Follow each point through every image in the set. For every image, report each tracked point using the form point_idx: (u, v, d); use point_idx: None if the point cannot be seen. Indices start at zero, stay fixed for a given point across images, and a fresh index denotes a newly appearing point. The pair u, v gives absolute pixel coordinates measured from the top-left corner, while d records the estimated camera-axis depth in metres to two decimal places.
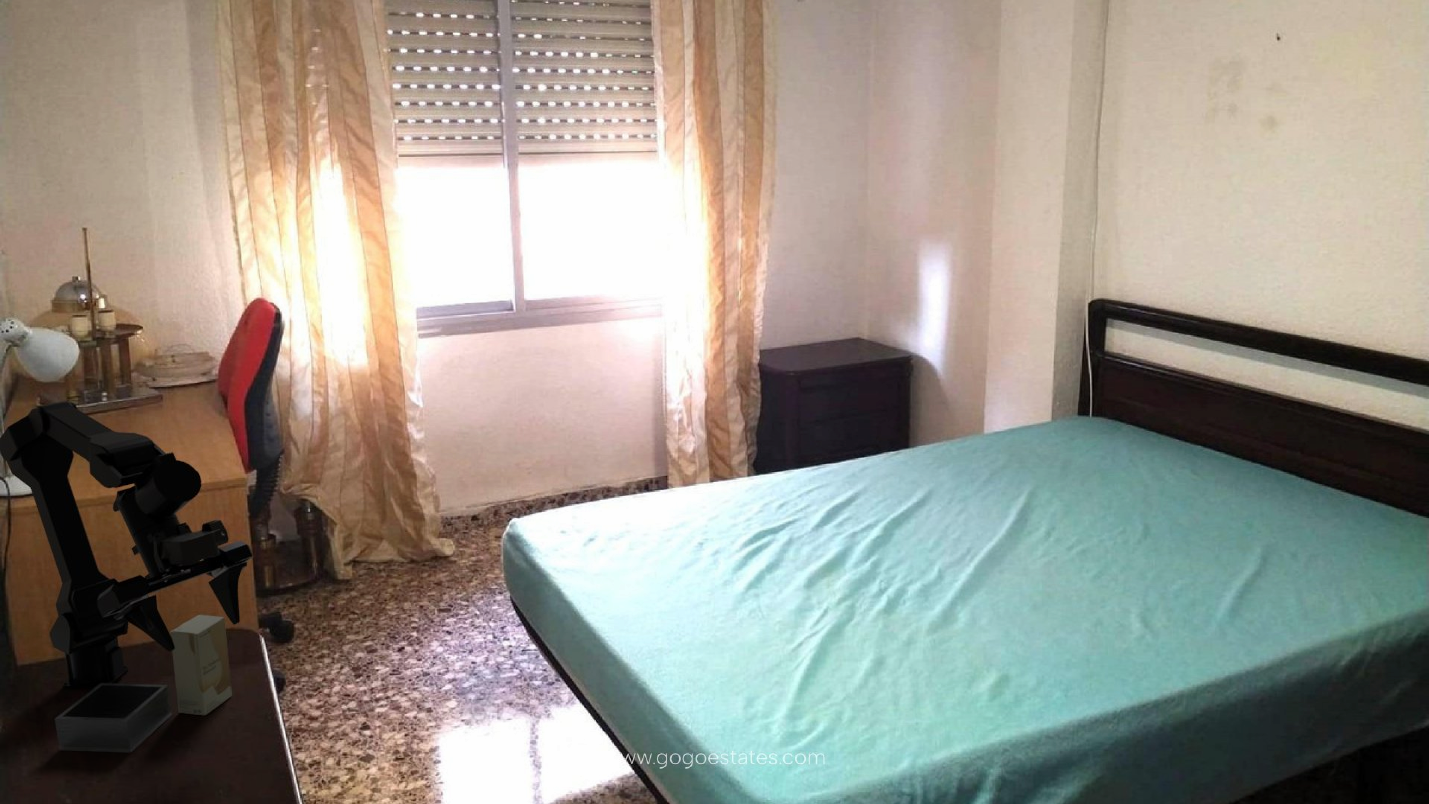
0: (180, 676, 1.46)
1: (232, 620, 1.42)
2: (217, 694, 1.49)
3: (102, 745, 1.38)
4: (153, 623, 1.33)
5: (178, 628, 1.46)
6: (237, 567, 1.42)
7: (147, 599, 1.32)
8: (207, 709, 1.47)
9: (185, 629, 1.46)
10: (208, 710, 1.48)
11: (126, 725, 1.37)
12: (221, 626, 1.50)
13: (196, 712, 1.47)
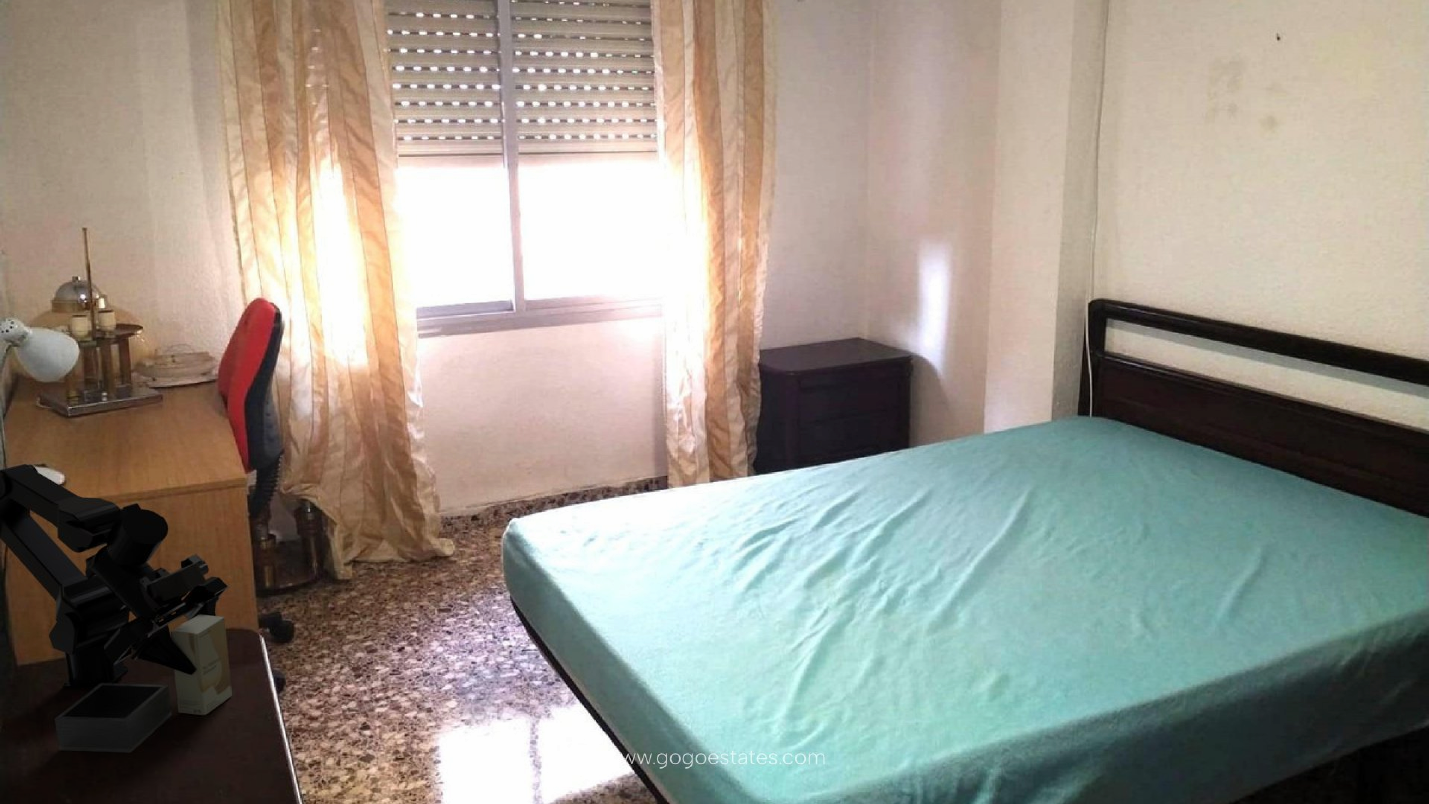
0: (180, 676, 1.46)
1: None
2: (217, 694, 1.49)
3: (102, 745, 1.38)
4: (171, 651, 1.44)
5: (178, 628, 1.46)
6: (212, 601, 1.52)
7: (162, 629, 1.43)
8: (207, 709, 1.47)
9: (185, 629, 1.46)
10: (208, 710, 1.47)
11: (126, 725, 1.37)
12: (221, 625, 1.50)
13: (196, 712, 1.47)
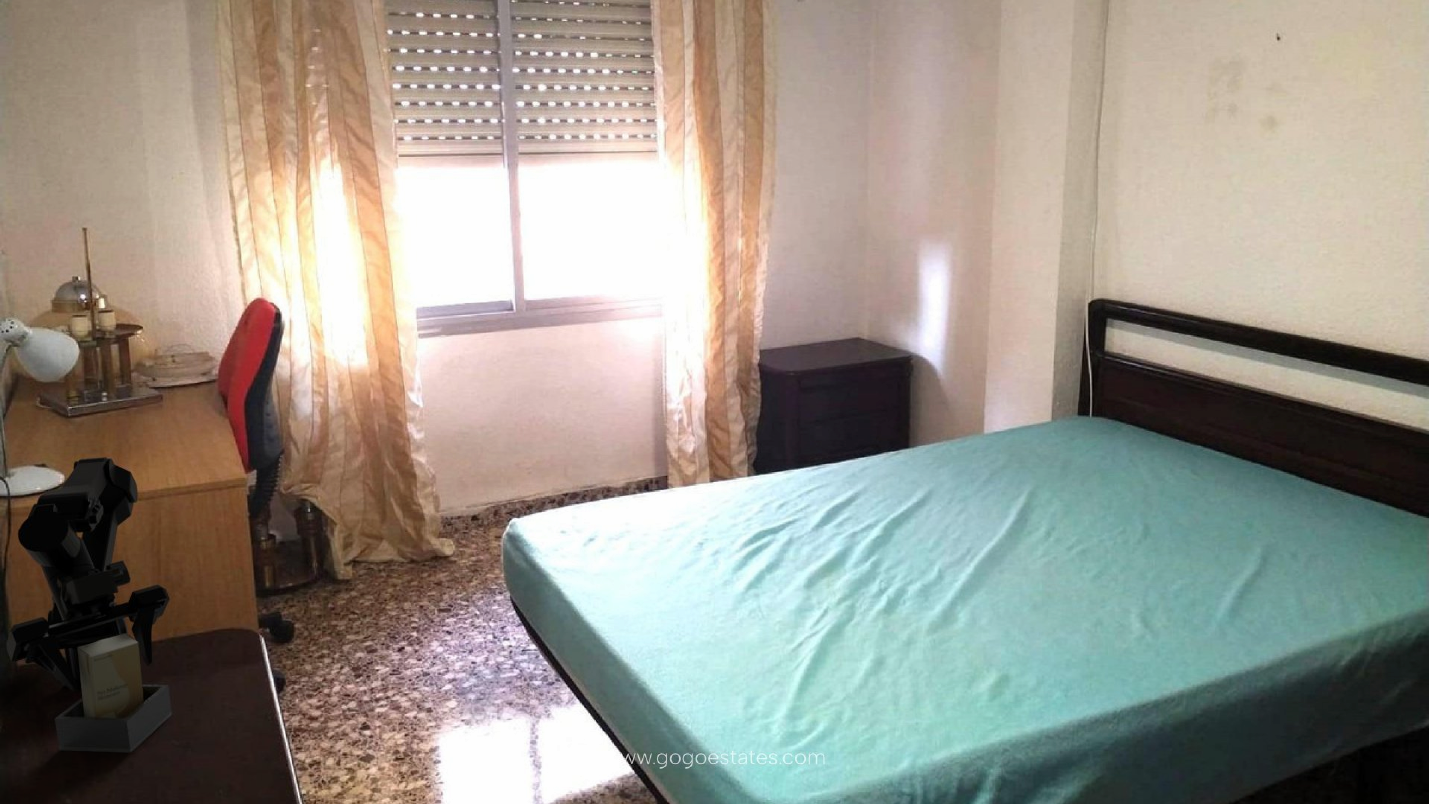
0: (84, 695, 1.40)
1: (146, 662, 1.44)
2: None
3: (102, 745, 1.38)
4: (54, 662, 1.36)
5: (87, 645, 1.40)
6: (149, 608, 1.45)
7: (45, 638, 1.36)
8: None
9: (89, 648, 1.39)
10: None
11: (126, 725, 1.37)
12: (132, 651, 1.41)
13: None
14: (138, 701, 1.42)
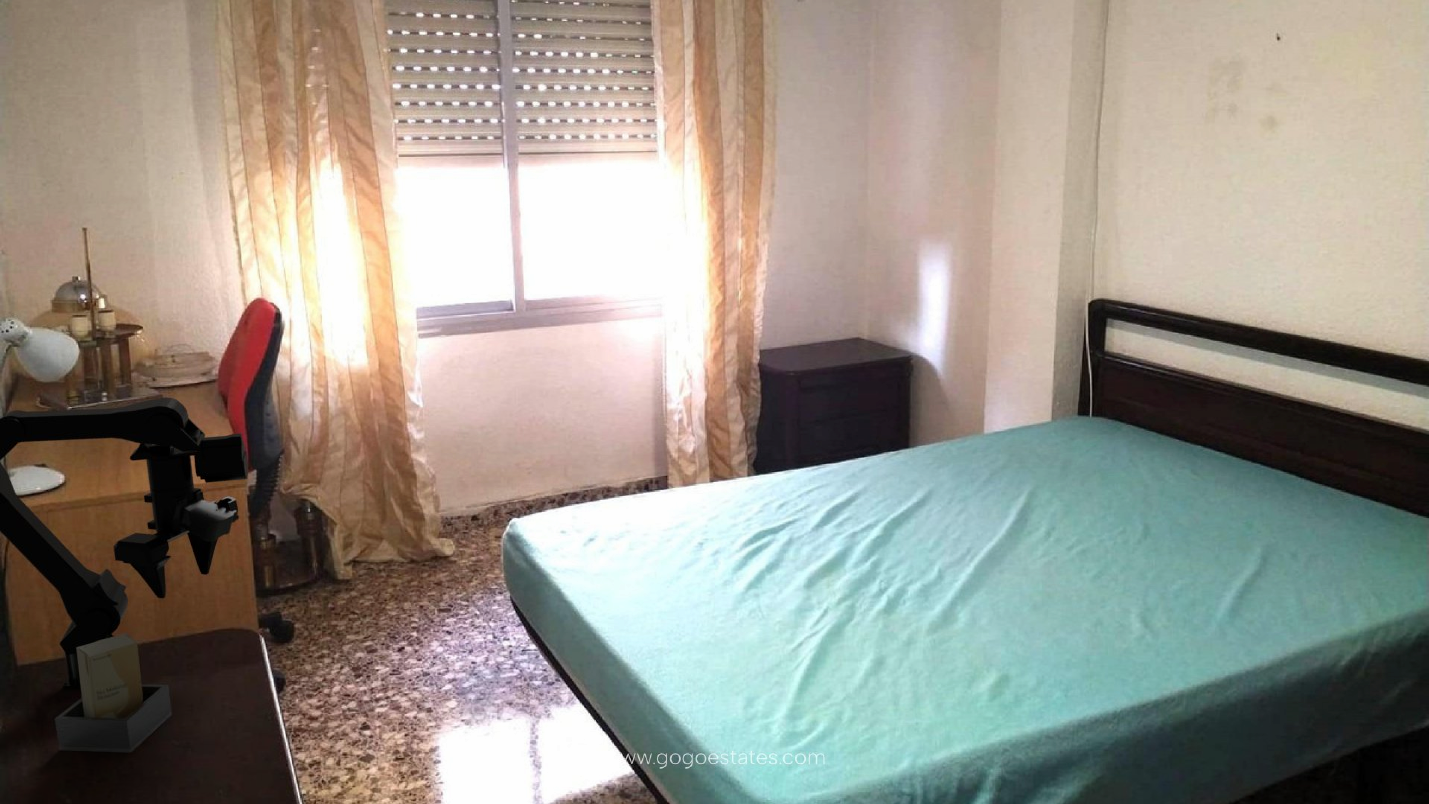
0: (83, 695, 1.40)
1: (202, 570, 1.63)
2: None
3: (102, 745, 1.38)
4: (158, 576, 1.52)
5: (86, 645, 1.40)
6: None
7: (164, 560, 1.50)
8: None
9: (88, 648, 1.39)
10: None
11: (126, 725, 1.37)
12: (130, 650, 1.41)
13: None
14: (138, 701, 1.42)
